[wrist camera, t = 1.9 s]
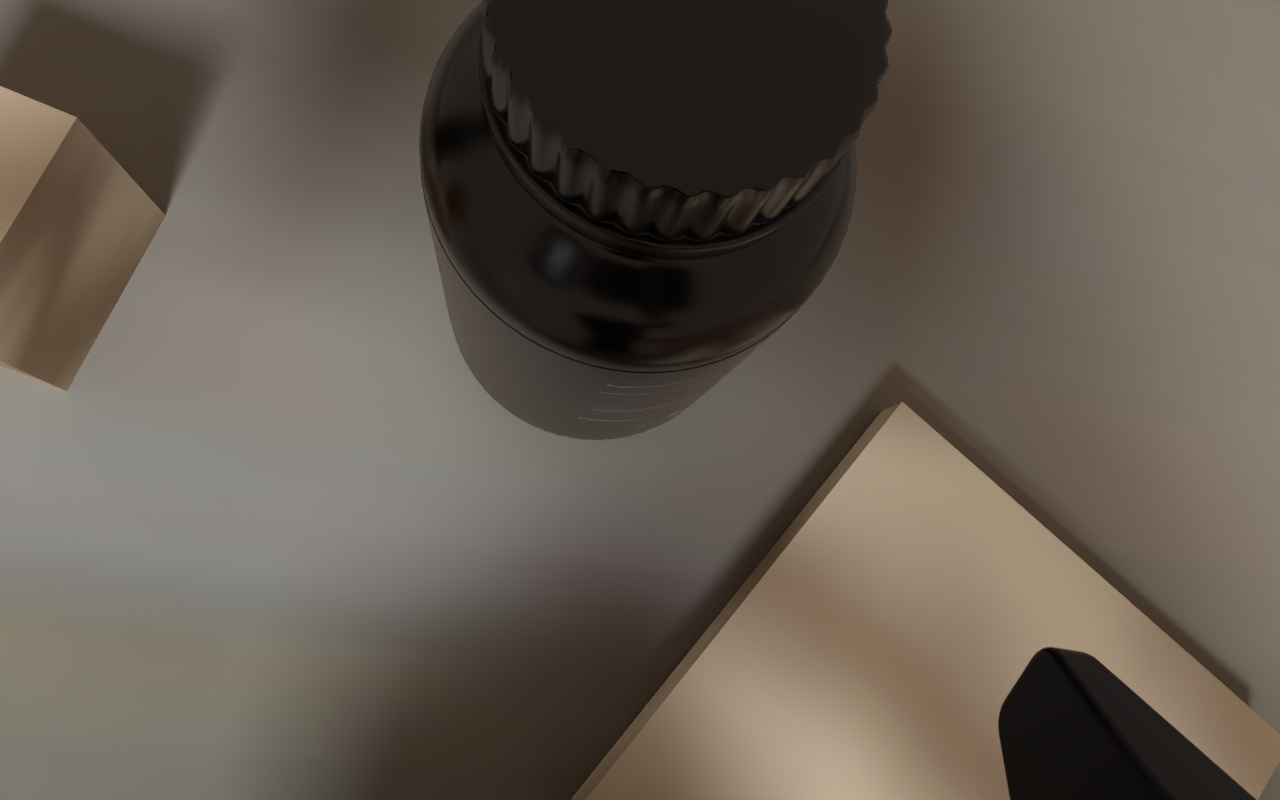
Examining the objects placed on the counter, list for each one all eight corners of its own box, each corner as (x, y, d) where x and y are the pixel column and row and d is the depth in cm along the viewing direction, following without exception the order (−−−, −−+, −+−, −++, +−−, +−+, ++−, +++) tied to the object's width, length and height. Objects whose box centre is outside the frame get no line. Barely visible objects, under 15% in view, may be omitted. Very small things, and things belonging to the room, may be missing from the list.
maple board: (980, 1195, 19) (1011, 1234, 18) (558, 814, 19) (562, 829, 18) (1248, 734, 22) (1290, 742, 21) (881, 410, 22) (902, 401, 21)
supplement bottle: (398, 243, 21) (275, -169, 10) (647, 137, 23) (800, -328, 11) (530, 500, 20) (567, 386, 9) (778, 372, 22) (1086, 133, 10)
